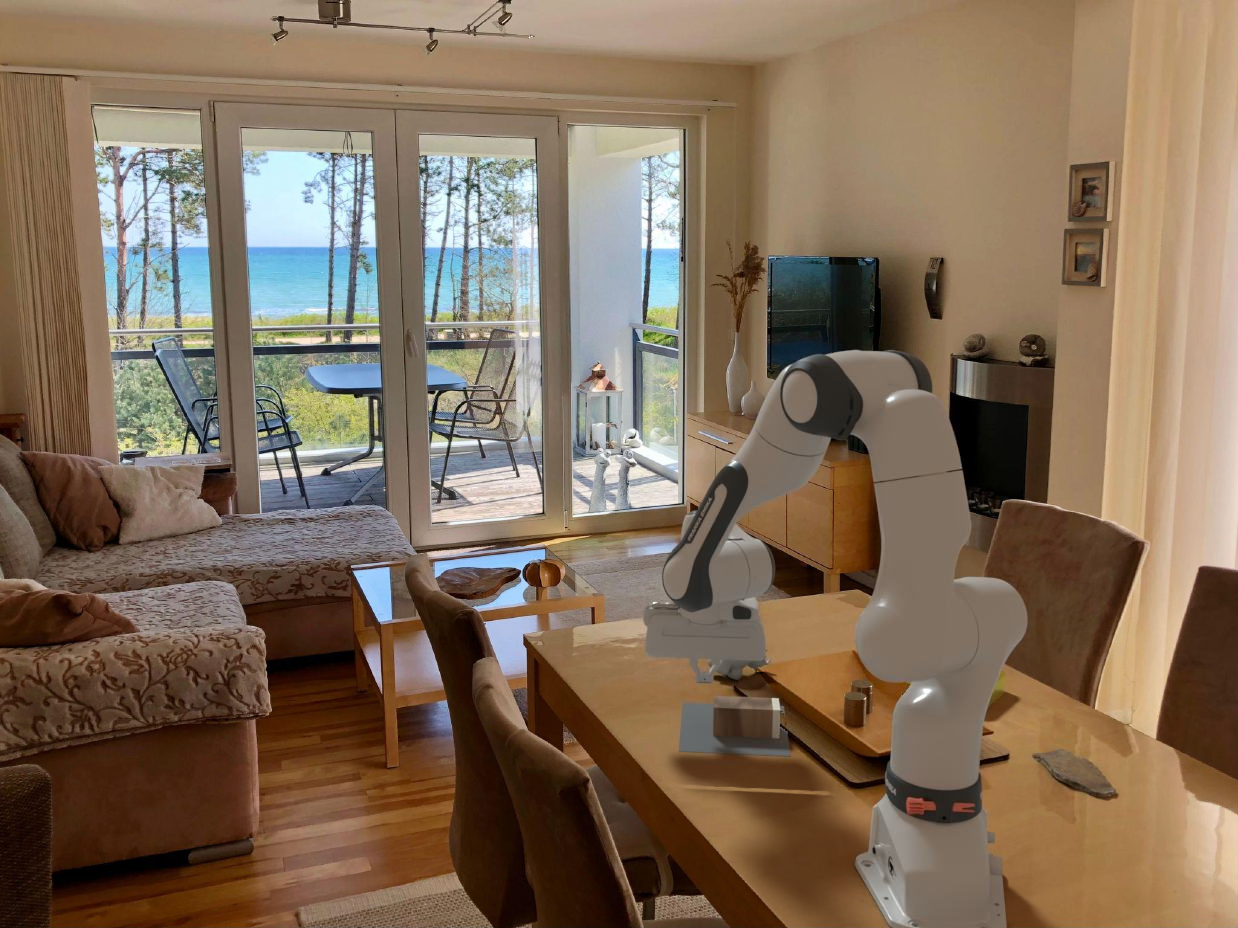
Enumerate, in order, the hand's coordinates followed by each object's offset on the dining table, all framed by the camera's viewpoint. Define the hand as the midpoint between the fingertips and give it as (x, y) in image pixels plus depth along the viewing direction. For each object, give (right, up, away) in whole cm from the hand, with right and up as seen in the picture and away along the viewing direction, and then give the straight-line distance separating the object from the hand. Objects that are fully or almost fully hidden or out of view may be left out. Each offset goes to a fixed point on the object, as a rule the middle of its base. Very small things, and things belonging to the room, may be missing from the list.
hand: (704, 682), depth 185 cm
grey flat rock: (+57, -13, -13) cm, 60 cm away
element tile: (+48, -6, +19) cm, 52 cm away
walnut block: (+2, -6, +1) cm, 6 cm away
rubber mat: (+5, -9, +2) cm, 10 cm away
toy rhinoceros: (+9, -4, +27) cm, 29 cm away
